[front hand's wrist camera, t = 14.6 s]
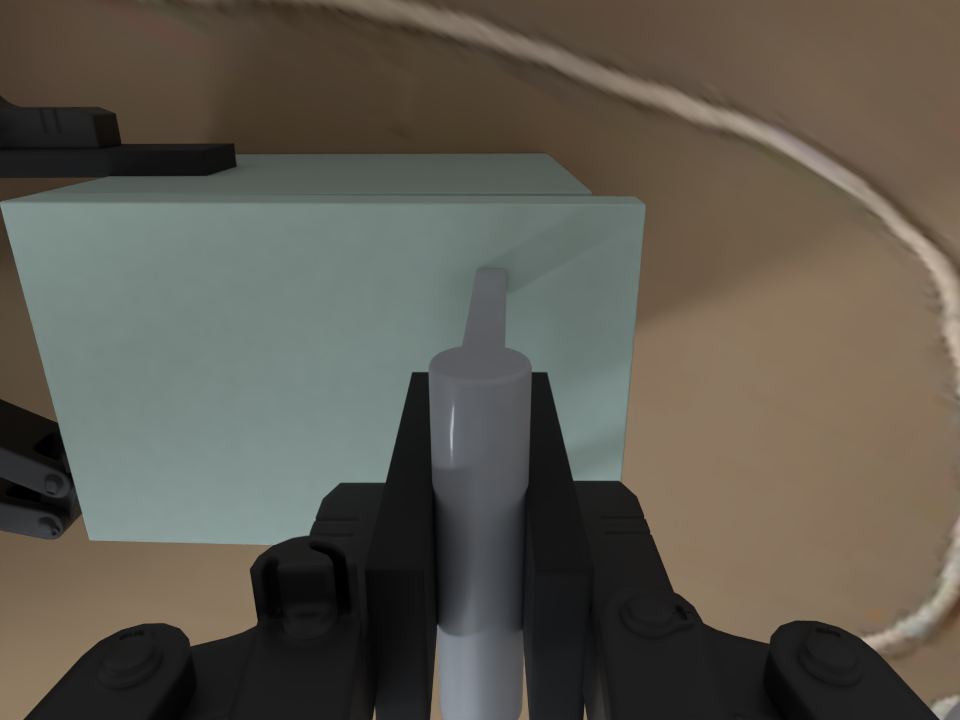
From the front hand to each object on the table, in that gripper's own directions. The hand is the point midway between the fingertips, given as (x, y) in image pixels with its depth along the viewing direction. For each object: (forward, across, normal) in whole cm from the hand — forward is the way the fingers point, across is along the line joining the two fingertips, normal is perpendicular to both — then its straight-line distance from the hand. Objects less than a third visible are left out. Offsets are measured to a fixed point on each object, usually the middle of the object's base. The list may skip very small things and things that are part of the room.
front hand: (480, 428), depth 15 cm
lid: (+3, +4, 0) cm, 5 cm away
